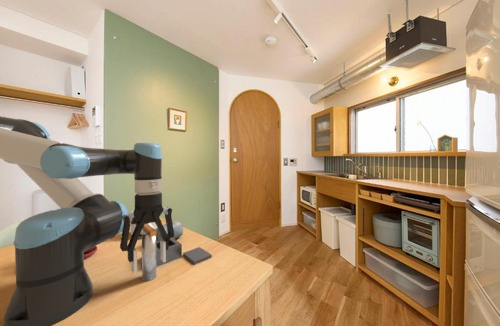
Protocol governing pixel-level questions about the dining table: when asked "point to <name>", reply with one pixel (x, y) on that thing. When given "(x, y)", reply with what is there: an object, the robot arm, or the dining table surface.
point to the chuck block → (169, 251)
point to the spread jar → (133, 225)
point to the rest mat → (197, 255)
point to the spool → (177, 230)
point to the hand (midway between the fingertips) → (149, 265)
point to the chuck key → (149, 253)
